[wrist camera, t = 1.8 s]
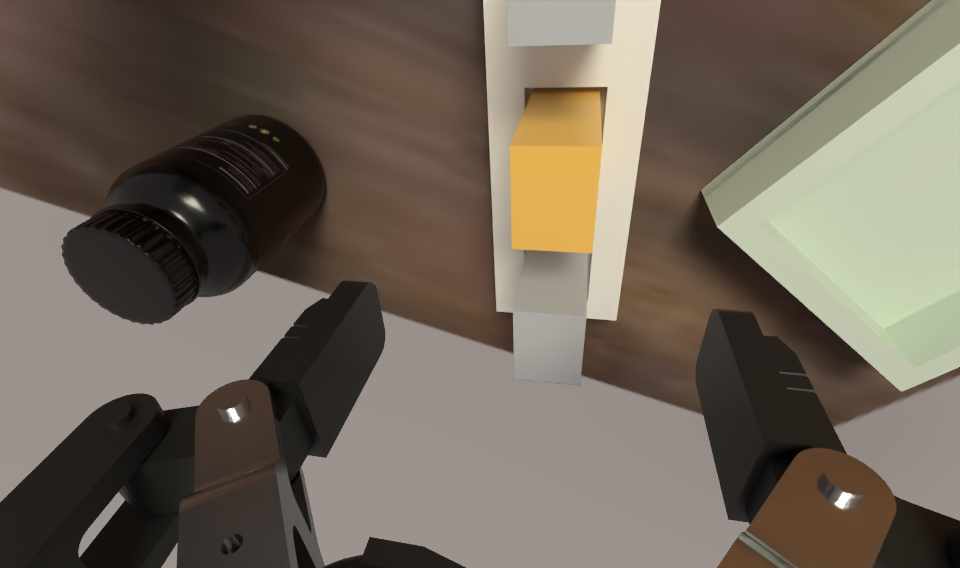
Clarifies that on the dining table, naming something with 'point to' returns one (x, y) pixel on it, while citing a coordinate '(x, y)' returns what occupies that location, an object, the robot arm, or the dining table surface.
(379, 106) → the dining table surface
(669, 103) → the dining table surface
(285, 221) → the supplement bottle
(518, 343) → the block
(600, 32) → the block
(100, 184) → the dining table surface
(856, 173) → the sage tray
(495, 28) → the block
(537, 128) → the block
